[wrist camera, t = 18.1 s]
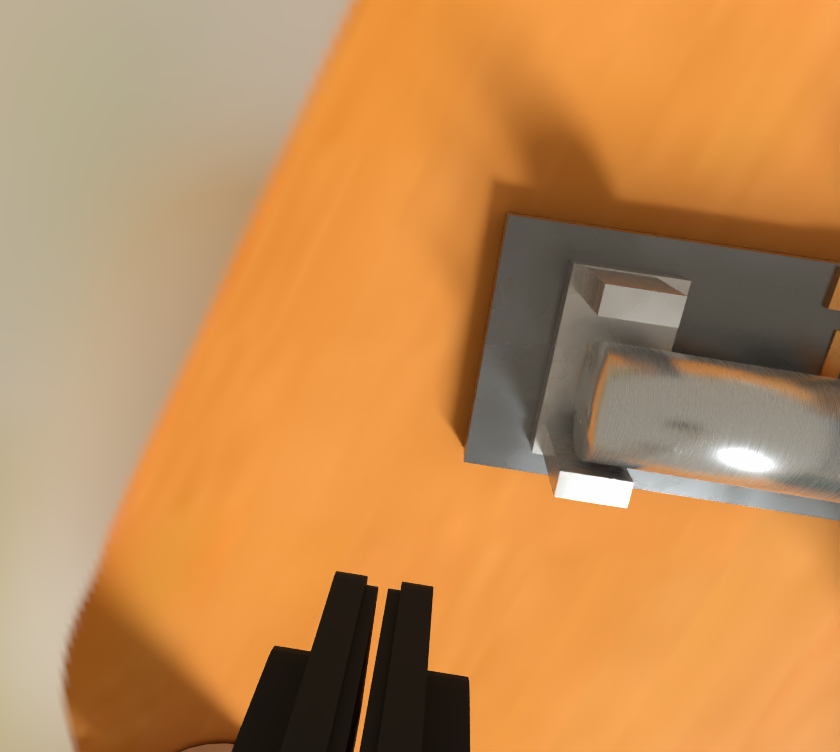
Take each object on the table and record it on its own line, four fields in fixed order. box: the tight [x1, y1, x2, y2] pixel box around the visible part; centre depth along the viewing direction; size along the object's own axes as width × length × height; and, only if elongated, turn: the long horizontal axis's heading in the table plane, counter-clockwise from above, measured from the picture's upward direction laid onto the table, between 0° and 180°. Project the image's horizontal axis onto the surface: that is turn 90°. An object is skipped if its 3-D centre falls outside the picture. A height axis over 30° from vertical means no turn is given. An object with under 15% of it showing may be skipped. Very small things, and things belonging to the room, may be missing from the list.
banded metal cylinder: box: [573, 341, 840, 503], centre depth 26 cm, size 18×5×5 cm, turn 82°
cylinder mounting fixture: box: [464, 212, 840, 521], centre depth 27 cm, size 25×12×6 cm, turn 83°
